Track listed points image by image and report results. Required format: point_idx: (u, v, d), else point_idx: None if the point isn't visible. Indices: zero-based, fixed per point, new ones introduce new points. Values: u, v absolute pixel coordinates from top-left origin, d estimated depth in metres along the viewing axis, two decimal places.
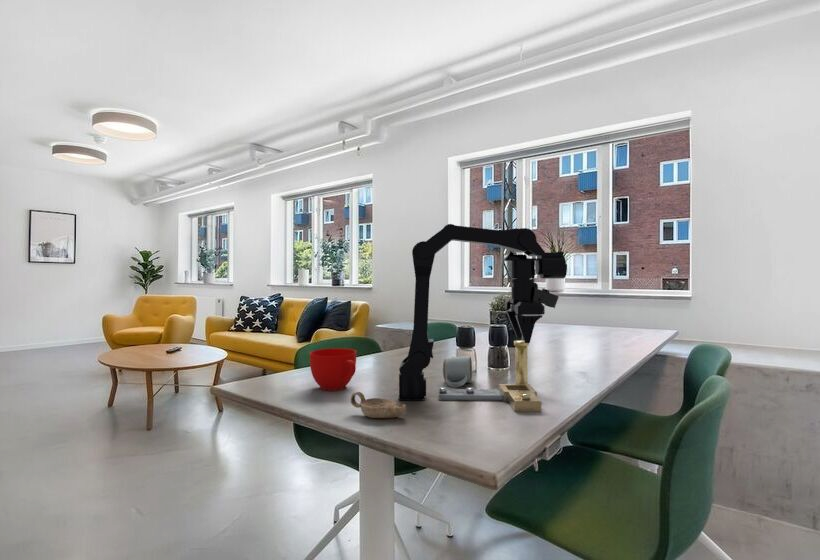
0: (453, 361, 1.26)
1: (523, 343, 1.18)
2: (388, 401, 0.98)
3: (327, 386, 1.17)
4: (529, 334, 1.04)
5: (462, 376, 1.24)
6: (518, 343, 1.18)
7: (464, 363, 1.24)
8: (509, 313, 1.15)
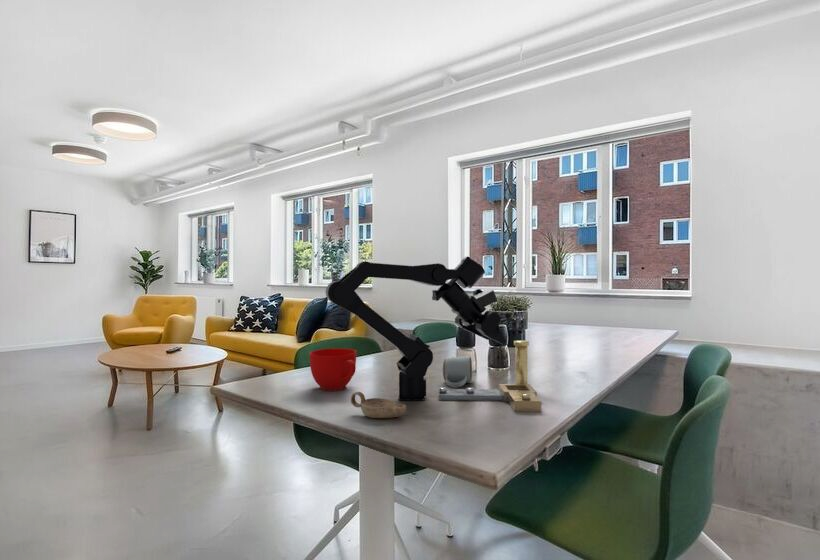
0: (453, 361, 1.26)
1: (523, 343, 1.18)
2: (388, 401, 0.98)
3: (327, 386, 1.17)
4: (501, 336, 1.12)
5: (462, 376, 1.24)
6: (518, 343, 1.18)
7: (464, 363, 1.24)
8: (467, 329, 1.21)
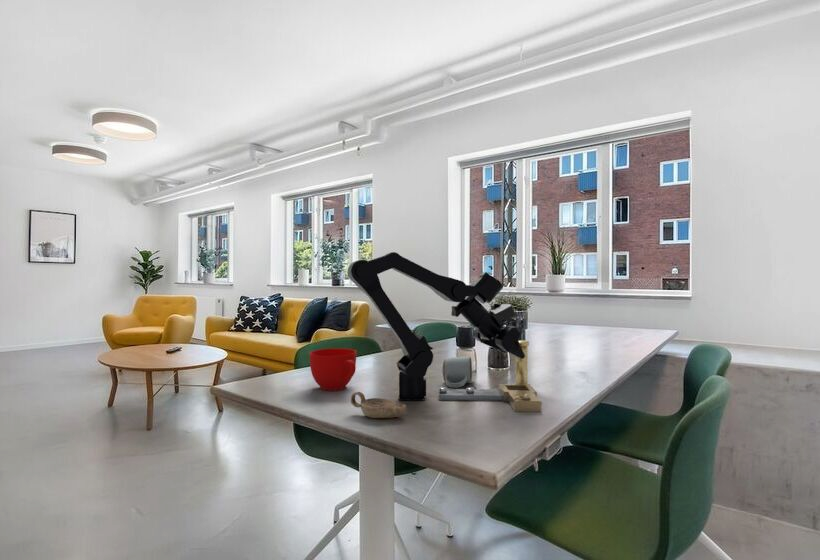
0: (453, 361, 1.25)
1: (523, 343, 1.18)
2: (388, 401, 0.98)
3: (327, 386, 1.17)
4: (520, 351, 1.14)
5: (462, 377, 1.23)
6: None
7: (463, 363, 1.24)
8: (486, 343, 1.22)
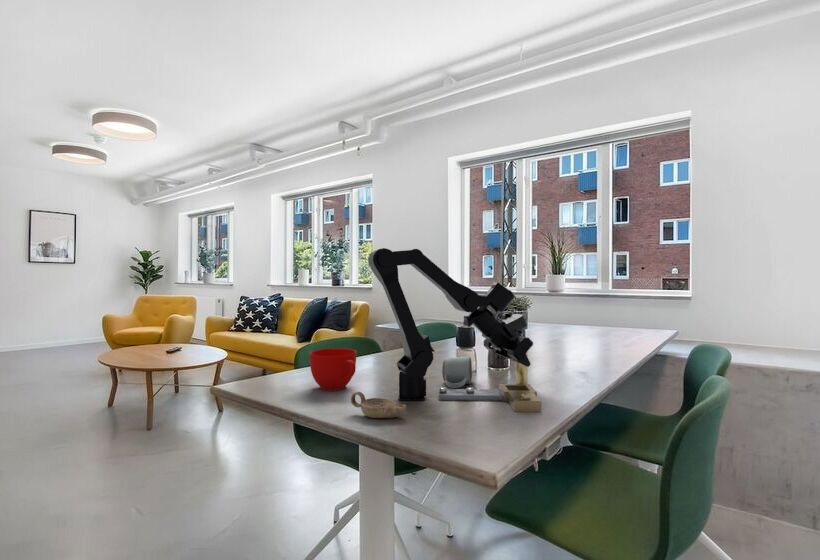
0: (452, 362, 1.25)
1: None
2: (388, 401, 0.98)
3: (327, 386, 1.17)
4: (526, 359, 1.17)
5: (462, 377, 1.23)
6: None
7: (463, 364, 1.23)
8: (501, 354, 1.21)
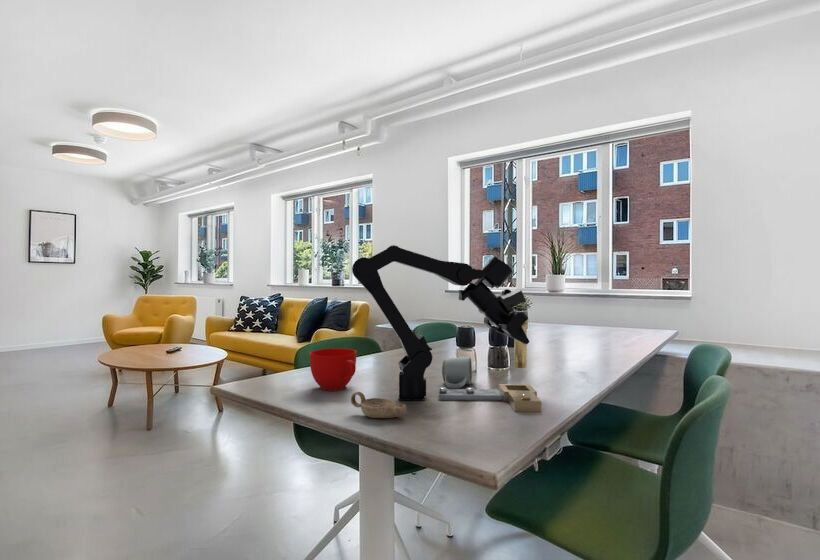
0: (452, 362, 1.24)
1: None
2: (388, 401, 0.98)
3: (327, 386, 1.17)
4: (524, 336, 1.13)
5: (461, 377, 1.22)
6: None
7: (463, 364, 1.23)
8: (499, 330, 1.17)
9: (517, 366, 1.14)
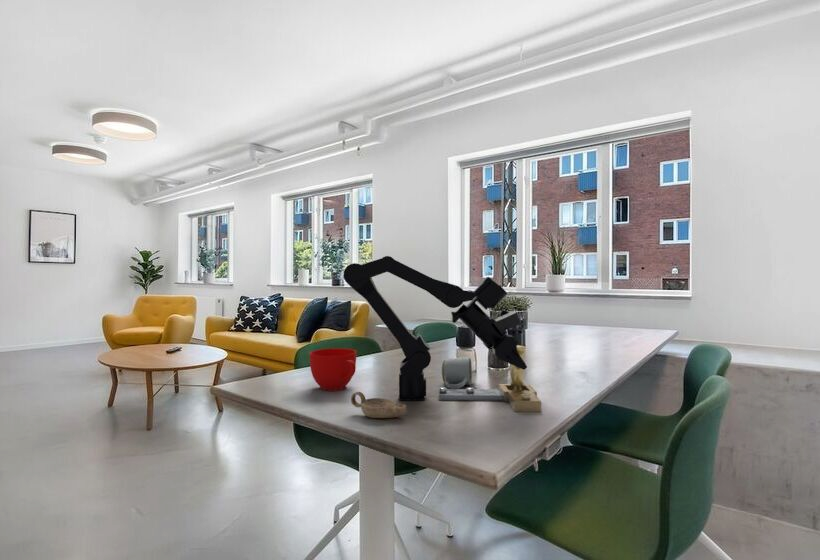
0: (452, 362, 1.24)
1: (517, 348, 1.09)
2: (388, 401, 0.98)
3: (327, 386, 1.17)
4: (521, 361, 1.07)
5: (461, 378, 1.22)
6: None
7: (463, 364, 1.22)
8: None
9: None
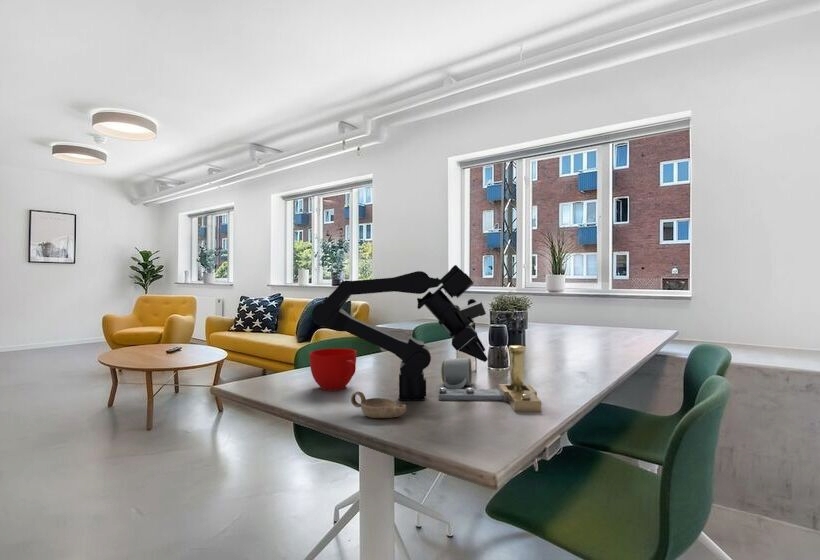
0: (452, 363, 1.23)
1: (516, 348, 1.09)
2: (388, 401, 0.98)
3: (327, 386, 1.17)
4: (481, 353, 1.06)
5: (461, 378, 1.21)
6: (511, 348, 1.10)
7: (463, 365, 1.21)
8: None
9: None
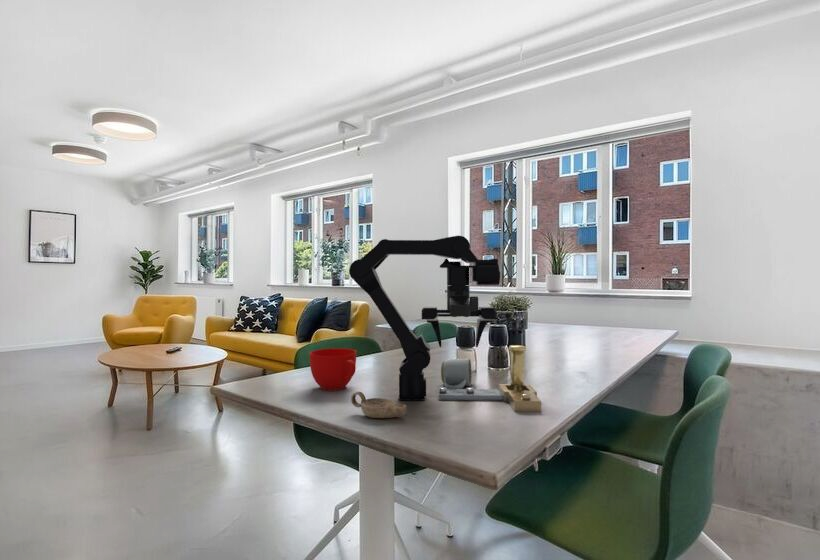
0: (451, 364, 1.22)
1: (517, 348, 1.09)
2: (388, 401, 0.98)
3: (327, 386, 1.17)
4: (437, 338, 1.10)
5: (461, 379, 1.20)
6: (512, 348, 1.10)
7: (462, 366, 1.21)
8: (477, 320, 1.13)
9: None
